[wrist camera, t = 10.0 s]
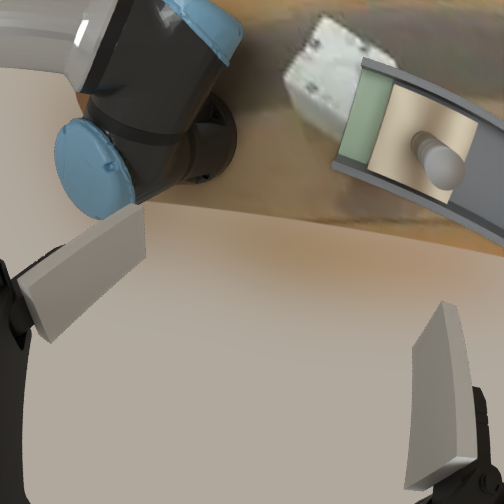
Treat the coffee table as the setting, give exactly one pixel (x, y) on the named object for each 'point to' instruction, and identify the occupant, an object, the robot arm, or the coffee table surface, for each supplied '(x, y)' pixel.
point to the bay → (476, 163)
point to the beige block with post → (422, 144)
